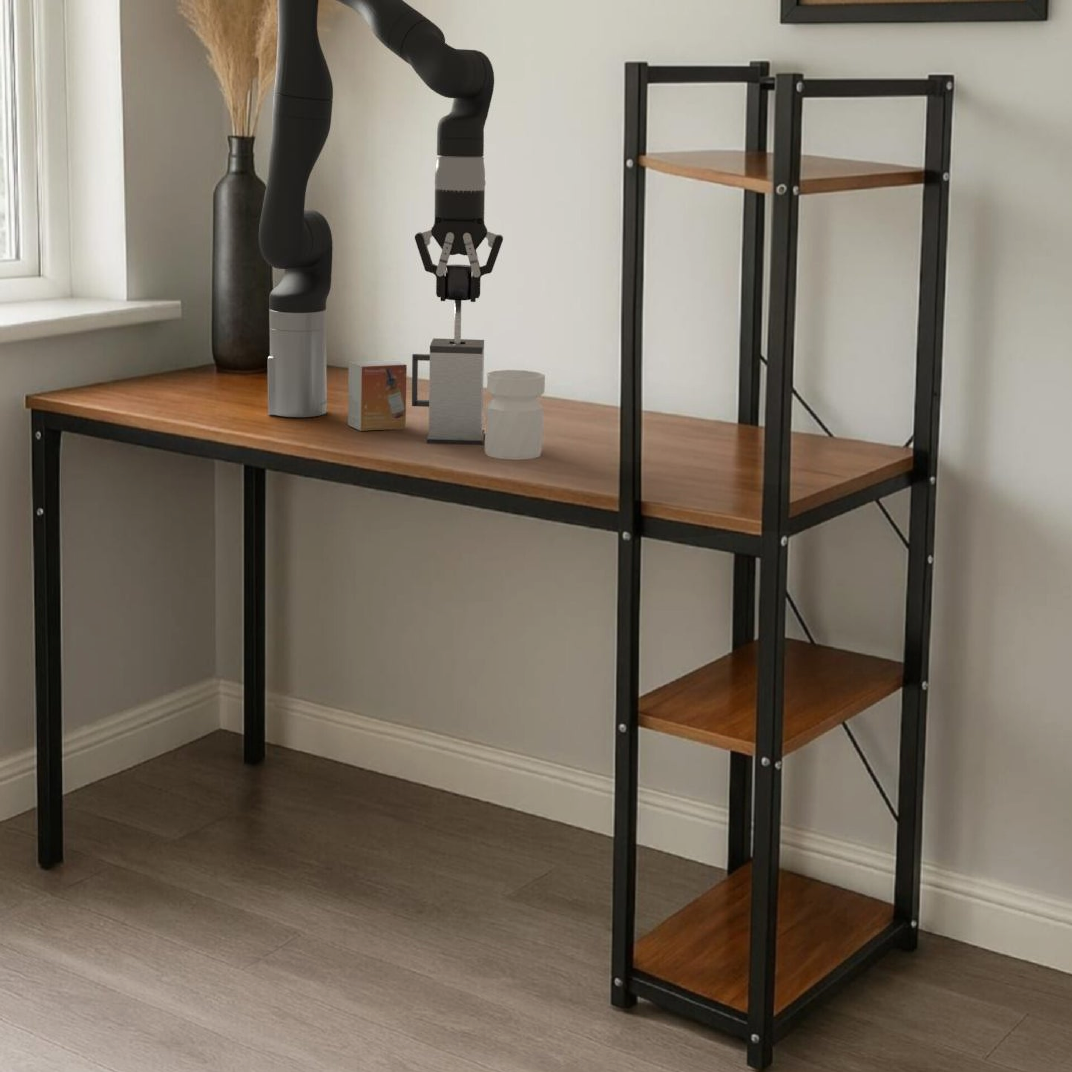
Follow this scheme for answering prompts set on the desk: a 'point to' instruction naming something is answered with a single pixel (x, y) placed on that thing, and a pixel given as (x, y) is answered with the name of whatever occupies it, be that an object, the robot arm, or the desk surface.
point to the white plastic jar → (514, 414)
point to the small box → (377, 395)
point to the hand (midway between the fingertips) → (458, 300)
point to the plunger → (458, 292)
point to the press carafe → (453, 391)
